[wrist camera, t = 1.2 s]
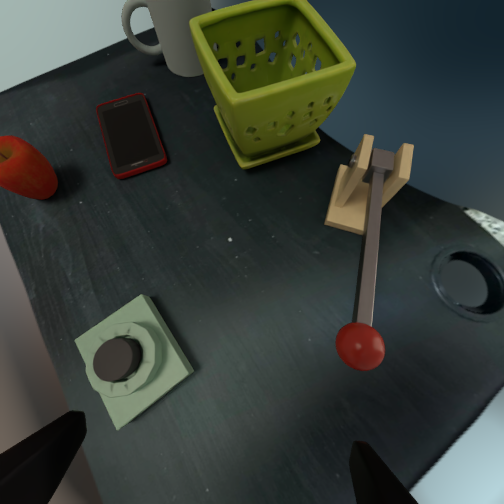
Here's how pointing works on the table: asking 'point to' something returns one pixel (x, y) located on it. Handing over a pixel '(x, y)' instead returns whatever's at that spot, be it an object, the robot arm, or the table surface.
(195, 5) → the mug
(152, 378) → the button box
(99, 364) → the push button
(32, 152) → the apple
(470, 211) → the table surface
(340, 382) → the table surface
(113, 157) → the cell phone
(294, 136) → the flower pot
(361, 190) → the switch bracket
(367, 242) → the switch lever
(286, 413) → the table surface
